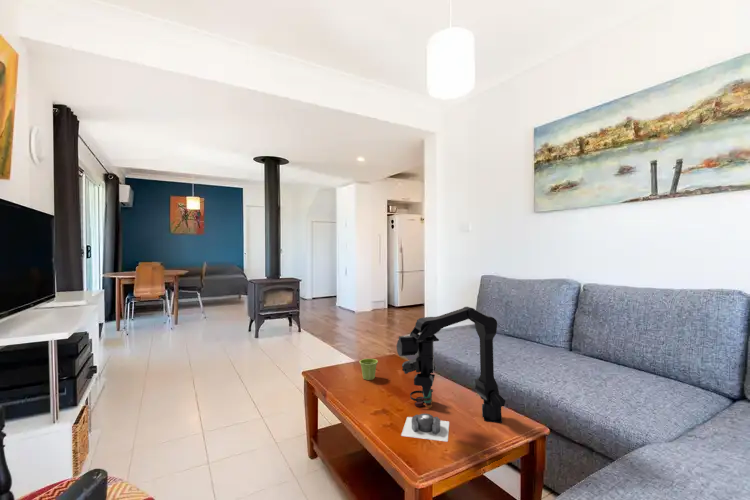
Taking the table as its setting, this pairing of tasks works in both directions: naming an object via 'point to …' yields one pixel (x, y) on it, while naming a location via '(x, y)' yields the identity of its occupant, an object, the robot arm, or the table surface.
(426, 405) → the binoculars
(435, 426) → the curved wall segments
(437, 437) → the mat
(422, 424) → the grey cylinder white dome
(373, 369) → the plant pot
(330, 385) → the table surface
